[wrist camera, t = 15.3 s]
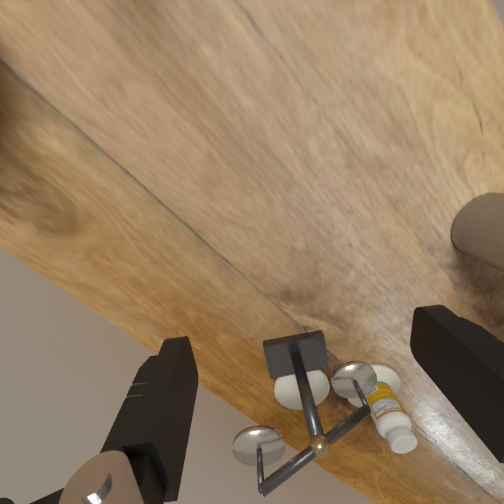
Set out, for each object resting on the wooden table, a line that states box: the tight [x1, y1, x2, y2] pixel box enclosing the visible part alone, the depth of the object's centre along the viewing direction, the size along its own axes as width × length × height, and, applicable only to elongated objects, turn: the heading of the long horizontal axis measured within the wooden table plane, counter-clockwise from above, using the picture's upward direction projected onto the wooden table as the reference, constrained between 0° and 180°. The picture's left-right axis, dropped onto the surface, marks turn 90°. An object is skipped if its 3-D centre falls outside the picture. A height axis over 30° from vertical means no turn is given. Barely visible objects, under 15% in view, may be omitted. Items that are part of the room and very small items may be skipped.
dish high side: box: [274, 369, 330, 410], centre depth 48 cm, size 10×10×1 cm
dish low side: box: [347, 363, 401, 408], centre depth 48 cm, size 10×10×1 cm
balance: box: [233, 330, 377, 497], centre depth 36 cm, size 21×7×19 cm, turn 102°
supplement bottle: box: [364, 379, 417, 454], centre depth 43 cm, size 5×5×10 cm
